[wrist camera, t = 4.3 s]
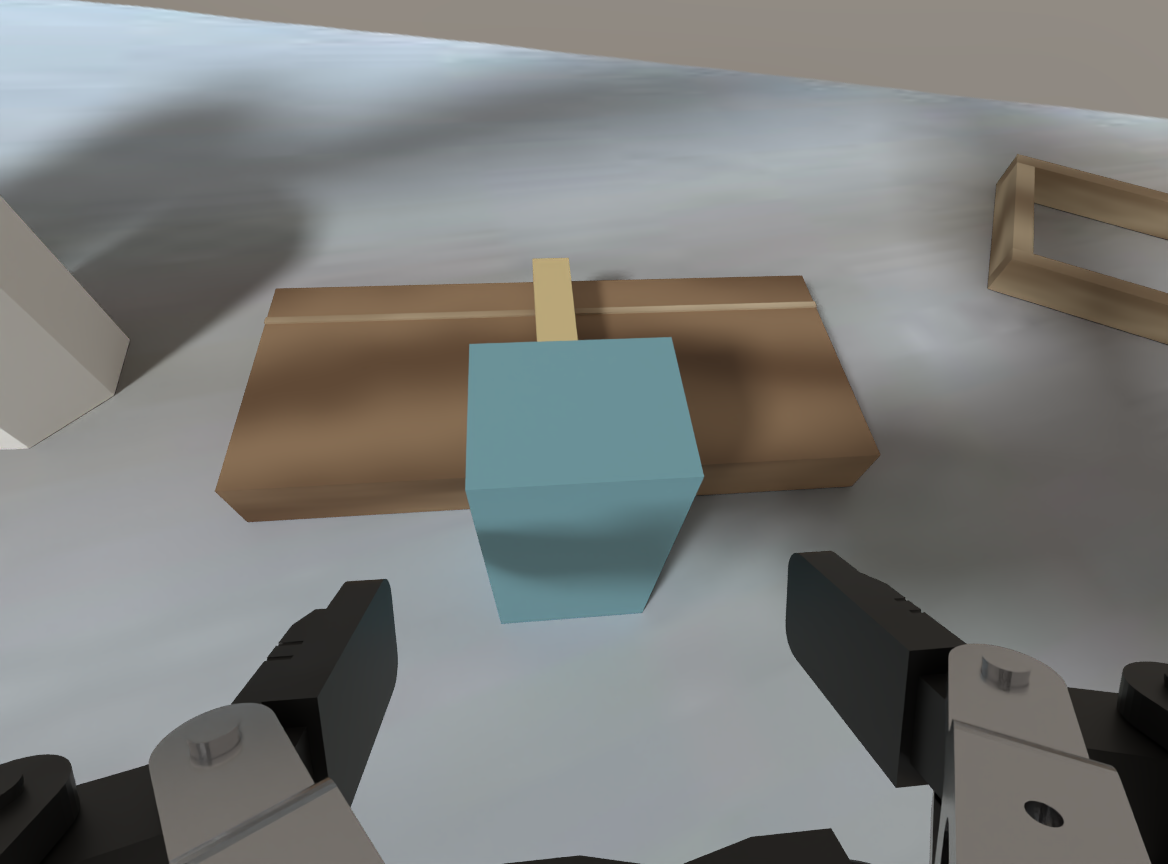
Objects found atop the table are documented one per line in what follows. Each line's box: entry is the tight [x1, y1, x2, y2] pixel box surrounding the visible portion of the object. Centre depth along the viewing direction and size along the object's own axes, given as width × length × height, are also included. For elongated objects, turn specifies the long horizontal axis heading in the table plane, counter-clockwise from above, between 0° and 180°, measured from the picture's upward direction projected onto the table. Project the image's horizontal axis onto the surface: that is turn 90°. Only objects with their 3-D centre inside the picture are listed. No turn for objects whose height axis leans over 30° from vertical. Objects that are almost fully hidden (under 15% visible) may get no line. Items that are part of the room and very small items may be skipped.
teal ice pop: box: [465, 258, 704, 624], centre depth 20 cm, size 14×5×10 cm, turn 5°
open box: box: [215, 276, 880, 522], centre depth 24 cm, size 10×24×3 cm, turn 95°
